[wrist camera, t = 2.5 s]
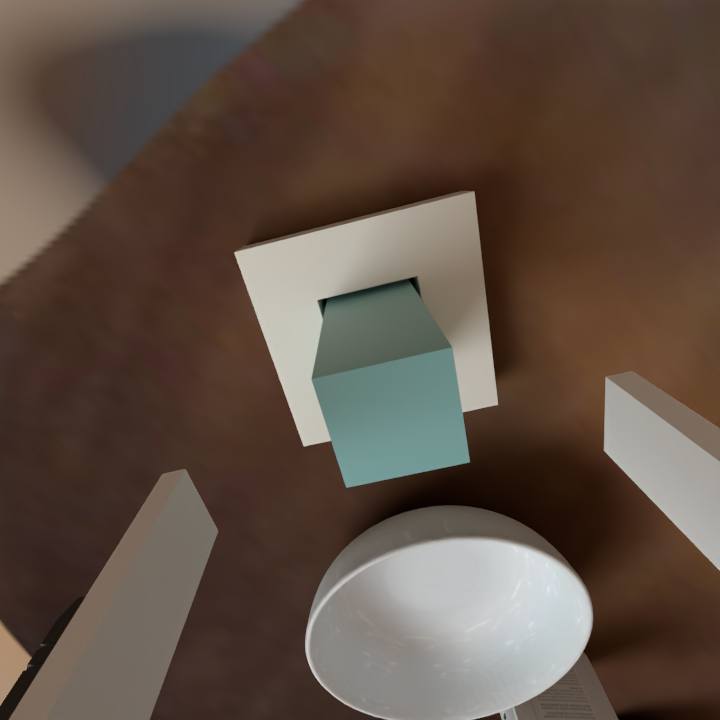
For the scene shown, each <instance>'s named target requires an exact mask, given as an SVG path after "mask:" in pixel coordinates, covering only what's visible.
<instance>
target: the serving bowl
mask: <svg viewBox="0 0 720 720" xmlns="http://www.w3.org/2000/svg"><path fill="white" fill-rule="evenodd" d="M592 625H593V608H592V602H591V598H590V595H589V592H588V590H587V588H586V586H585V584H584V583H583V581H582V579H581V578H580V576H579V575H578V574H577V573H576V571H575V570H574V569H573V568H572V567H571V565H570V564H569V563H568V562H567V560H566V559H565V558H564V557H563V556H562V555H561V554H560V553H559V552H558V551H557V550H556V549H555V548H554V547H553V546H552V545H551V544H550V543H549V542H548V541H546V540H545V539H544V538H543V537H542V536H540V535H539V534H538V533H536V532H535V531H533V530H532V529H530V528H529V527H527V526H525V525H524V524H522V523H520V522H518V521H516V520H514V519H512V518H509V517H507V516H505V515H502V514H499V513H496V512H493V511H489V510H485V509H481V508H475V507H468V506H455V505H443V506H432V507H425V508H419V509H415V510H411V511H407V512H404V513H401V514H398V515H395V516H393V517H390V518H388V519H386V520H384V521H382V522H380V523H378V524H376V525H374V526H373V527H371V528H369V529H368V530H366V531H365V532H363V533H362V534H360V535H359V536H358V537H356V538H355V539H354V540H353V541H352V542H351V543H350V544H349V545H347V546H346V547H345V548H344V549H343V551H342V552H341V553H340V554H339V555H338V556H337V558H336V559H335V560H334V561H333V563H332V564H331V566H330V567H329V569H328V570H327V572H326V574H325V575H324V577H323V579H322V581H321V583H320V585H319V588H318V590H317V593H316V595H315V598H314V601H313V605H312V608H311V612H310V616H309V620H308V625H307V630H306V637H305V648H306V656H307V660H308V663H309V665H310V668H311V670H312V672H313V674H314V675H315V677H316V679H317V680H318V681H319V682H320V684H321V685H322V686H323V687H324V688H325V689H326V690H327V691H328V692H330V693H331V694H332V695H333V696H334V697H336V698H337V699H338V700H340V701H341V702H343V703H344V704H346V705H348V706H350V707H352V708H354V709H356V710H358V711H361V712H363V713H366V714H369V715H372V716H375V717H379V718H383V719H387V720H473V719H478V718H482V717H486V716H489V715H492V714H495V713H499V712H502V711H504V710H507V709H510V708H512V707H515V706H517V705H519V704H522V703H524V702H526V701H528V700H530V699H531V698H533V697H535V696H537V695H539V694H540V693H542V692H543V691H545V690H547V689H548V688H549V687H551V686H552V685H554V684H555V683H556V682H557V681H558V680H559V679H561V678H562V677H563V676H564V675H565V674H566V673H567V672H568V671H569V670H570V669H571V668H572V666H573V665H574V664H575V663H576V661H577V660H578V659H579V657H580V656H581V654H582V652H583V651H584V649H585V647H586V645H587V642H588V640H589V638H590V634H591V630H592Z"/></svg>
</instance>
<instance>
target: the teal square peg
mask: <svg viewBox="0 0 720 720" xmlns="http://www.w3.org/2000/svg"><path fill="white" fill-rule="evenodd" d="M311 380H312V383H313V386H314V389H315V392H316V395H317V398H318V401H319V405H320V408H321V411H322V414H323V417H324V420H325V423H326V426H327V429H328V432H329V436H330V439H331V442H332V445H333V448H334V451H335V454H336V457H337V460H338V463H339V467H340V470H341V473H342V476H343V479H344V482H345V485H346V488H348V487H353V486H357V485H362V484H367V483H372V482H377V481H382V480H387V479H391V478H396V477H401V476H406V475H411V474H416V473H421V472H426V471H430V470H435V469H440V468H445V467H450V466H455V465H460V464H464V463H469V462H470V458H469V452H468V445H467V439H466V432H465V426H464V419H463V413H462V406H461V400H460V393H459V387H458V380H457V374H456V367H455V361H454V354H453V348H452V346H451V344H450V343H449V341H448V340H447V338H446V337H445V335H444V333H443V332H442V330H441V329H440V327H439V326H438V324H437V323H436V321H435V320H434V318H433V316H432V315H431V313H430V312H429V310H428V309H427V307H426V306H425V304H424V302H423V301H422V299H421V298H420V296H419V295H418V293H417V292H416V290H415V289H414V287H413V285H412V284H411V282H410V281H409V279H408V278H407V279H403V280H399V281H395V282H391V283H387V284H382V285H378V286H374V287H370V288H366V289H362V290H358V291H353V292H349V293H345V294H341V295H337V296H333V297H329V298H327V302H326V307H325V312H324V317H323V323H322V328H321V333H320V338H319V343H318V348H317V353H316V358H315V363H314V368H313V373H312V379H311Z"/></svg>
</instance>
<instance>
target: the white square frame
mask: <svg viewBox="0 0 720 720" xmlns="http://www.w3.org/2000/svg"><path fill="white" fill-rule="evenodd" d="M234 253H235V256H236V259H237V262H238V264H239V267H240V270H241V273H242V276H243V278H244V281H245V284H246V287H247V290H248V292H249V295H250V298H251V301H252V303H253V306H254V309H255V312H256V315H257V317H258V320H259V323H260V326H261V329H262V331H263V334H264V337H265V340H266V342H267V345H268V348H269V351H270V354H271V356H272V359H273V362H274V365H275V368H276V370H277V373H278V376H279V379H280V381H281V384H282V387H283V390H284V393H285V395H286V398H287V401H288V404H289V407H290V409H291V412H292V415H293V418H294V420H295V423H296V426H297V429H298V432H299V434H300V437H301V440H302V443H303V446H308V445H313V444H317V443H322V442H327V441H331V439H330V436H329V432H328V429H327V426H326V423H325V420H324V417H323V414H322V411H321V408H320V405H319V401H318V398H317V395H316V392H315V389H314V386H313V383H312V380H311V379H312V373H313V368H314V363H315V358H316V353H317V348H318V343H319V338H320V333H321V328H322V323H323V317H324V312H325V305H324V302H323V299H324V298H329V297H333V296H337V295H341V294H345V293H349V292H353V291H358V290H362V289H366V288H370V287H374V286H378V285H382V284H387V283H391V282H395V281H399V280H403V279H407V278H411V277H413V280H414V285H415V290H416V292H417V293H418V295H419V296H420V298H421V299H422V301H423V302H424V304H425V306H426V307H427V309H428V310H429V312H430V313H431V315H432V316H433V318H434V320H435V321H436V323H437V324H438V326H439V327H440V329H441V330H442V332H443V333H444V335H445V337H446V338H447V340H448V341H449V343H450V344H451V346H452V348H453V354H454V361H455V367H456V374H457V380H458V387H459V393H460V400H461V406H462V412H466V411H471V410H476V409H480V408H485V407H490V406H494V405H498V400H497V391H496V382H495V373H494V364H493V355H492V346H491V337H490V328H489V319H488V310H487V301H486V291H485V282H484V273H483V264H482V255H481V246H480V237H479V228H478V219H477V210H476V201H475V192H474V191H459V192H455V193H451V194H447V195H443V196H439V197H435V198H432V199H428V200H424V201H420V202H416V203H412V204H408V205H404V206H400V207H396V208H392V209H388V210H384V211H381V212H377V213H373V214H369V215H365V216H361V217H357V218H353V219H349V220H345V221H341V222H337V223H333V224H329V225H326V226H322V227H318V228H314V229H310V230H306V231H302V232H298V233H294V234H290V235H286V236H282V237H278V238H274V239H271V240H267V241H263V242H259V243H255V244H251V245H247V246H244V247H243V248H241V249H239V250H237V251H235V252H234Z"/></svg>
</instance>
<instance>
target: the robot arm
mask: <svg viewBox="0 0 720 720" xmlns="http://www.w3.org/2000/svg"><path fill="white" fill-rule="evenodd" d="M604 451H605V452H606V453H607V454H608V455H609V456H610V458H611V459H612V460H613V461H614V462H615V463H616V464H617V465H618V466H619V467H620V468H621V469H622V470H623V471H624V472H625V473H626V474H627V475H628V476H629V477H630V478H631V479H632V480H633V481H634V482H635V483H636V484H637V485H638V487H639V488H640V489H641V490H642V491H643V492H644V493H645V494H646V495H647V496H648V497H649V498H650V499H651V500H652V501H653V502H654V503H655V504H656V505H657V506H658V507H659V508H660V509H661V510H662V511H663V512H664V513H665V514H666V515H667V517H668V518H669V519H670V520H671V521H672V522H673V523H674V524H675V525H676V526H677V527H678V528H679V529H680V530H681V531H682V532H683V533H684V534H685V535H686V536H687V537H688V538H689V539H690V540H691V541H692V542H693V543H694V544H695V545H696V547H697V548H698V549H699V550H700V551H701V552H702V553H703V554H704V555H705V556H706V557H707V558H708V559H709V560H710V561H711V562H712V563H713V564H714V565H715V566H716V567H717V568H718V569H719V570H720V428H718V427H717V426H715V425H714V424H712V423H711V422H709V421H708V420H706V419H705V418H703V417H702V416H700V415H699V414H697V413H696V412H694V411H693V410H691V409H689V408H688V407H686V406H685V405H683V404H682V403H680V402H679V401H677V400H676V399H674V398H673V397H671V396H670V395H668V394H667V393H665V392H664V391H662V390H660V389H659V388H657V387H656V386H654V385H653V384H651V383H650V382H648V381H647V380H645V379H644V378H642V377H641V376H639V375H638V374H636V373H635V372H633V371H630V372H625V373H620V374H616V375H611V376H607V377H606V386H605V427H604ZM217 533H218V529H217V528H216V526H215V524H214V522H213V520H212V518H211V516H210V514H209V513H208V511H207V509H206V507H205V505H204V503H203V501H202V499H201V497H200V496H199V494H198V492H197V490H196V488H195V486H194V484H193V482H192V481H191V479H190V477H189V475H188V473H187V471H186V469H183V470H179V471H174V472H170V473H165V474H162V476H161V477H160V479H159V481H158V482H157V484H156V485H155V487H154V489H153V490H152V492H151V493H150V495H149V496H148V498H147V500H146V501H145V503H144V504H143V506H142V508H141V509H140V511H139V512H138V514H137V516H136V517H135V519H134V520H133V522H132V524H131V525H130V527H129V528H128V530H127V532H126V533H125V535H124V536H123V538H122V540H121V541H120V543H119V544H118V546H117V548H116V549H115V551H114V552H113V554H112V556H111V557H110V559H109V560H108V562H107V564H106V565H105V567H104V568H103V570H102V572H101V573H100V575H99V576H98V578H97V579H96V581H95V583H94V584H93V586H92V587H91V589H90V591H89V592H88V594H87V595H86V596H84V597H79V598H78V599H77V600H76V601H75V602H74V603H73V604H72V605H71V606H70V607H69V608H68V609H67V610H66V611H65V612H64V613H63V614H62V615H61V616H60V617H59V618H58V619H57V621H56V622H55V624H54V625H53V627H52V628H51V630H50V631H49V633H48V634H47V636H46V637H45V639H44V640H43V642H42V644H41V648H40V649H38V650H37V651H36V653H35V654H34V656H33V657H32V659H31V660H30V662H29V663H28V665H27V670H26V671H23V672H22V674H21V675H20V677H19V678H18V680H17V681H16V683H15V685H14V686H13V688H12V689H11V691H10V692H9V694H8V695H7V697H6V698H5V700H4V701H3V703H2V705H1V706H0V720H150V717H151V714H152V711H153V709H154V706H155V703H156V700H157V698H158V695H159V692H160V689H161V687H162V684H163V681H164V678H165V676H166V673H167V670H168V667H169V665H170V662H171V659H172V656H173V654H174V651H175V648H176V645H177V643H178V640H179V637H180V634H181V632H182V629H183V626H184V624H185V621H186V618H187V615H188V613H189V610H190V607H191V604H192V602H193V599H194V596H195V593H196V591H197V588H198V585H199V582H200V580H201V577H202V574H203V571H204V569H205V566H206V563H207V560H208V558H209V555H210V552H211V549H212V547H213V544H214V541H215V538H216V536H217Z"/></svg>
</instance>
